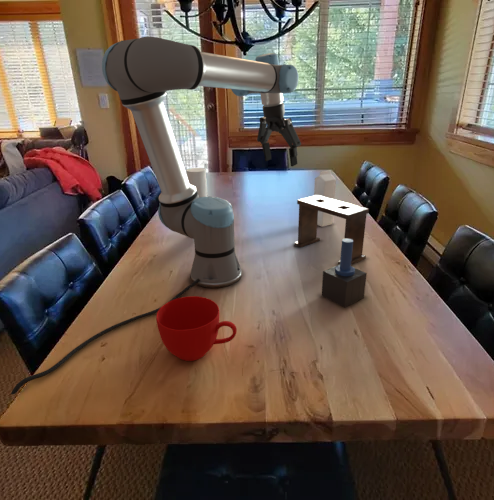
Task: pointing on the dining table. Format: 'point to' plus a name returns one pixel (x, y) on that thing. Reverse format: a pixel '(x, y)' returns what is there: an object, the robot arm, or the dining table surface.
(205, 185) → the cylindrical container
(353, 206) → the stand
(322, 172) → the milk
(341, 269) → the peg
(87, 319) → the dining table surface
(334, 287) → the holder
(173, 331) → the ceramic cup
